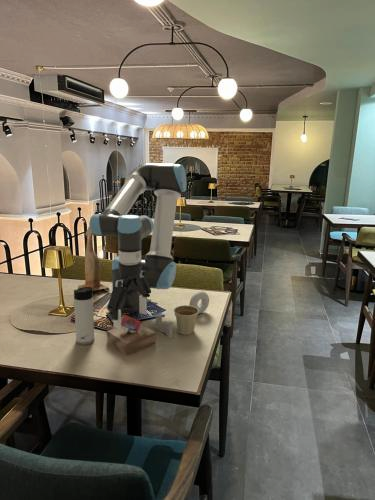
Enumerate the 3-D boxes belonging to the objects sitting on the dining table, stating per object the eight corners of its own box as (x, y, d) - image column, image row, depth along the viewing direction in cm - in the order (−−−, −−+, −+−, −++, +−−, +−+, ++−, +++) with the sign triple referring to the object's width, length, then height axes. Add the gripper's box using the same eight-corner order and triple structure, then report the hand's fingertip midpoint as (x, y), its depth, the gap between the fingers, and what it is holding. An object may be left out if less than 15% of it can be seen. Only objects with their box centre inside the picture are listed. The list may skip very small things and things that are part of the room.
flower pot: (180, 339, 134) (180, 317, 132) (169, 328, 142) (169, 307, 140) (202, 334, 139) (203, 312, 136) (190, 323, 147) (191, 303, 144)
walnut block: (107, 343, 130) (106, 330, 129) (134, 333, 139) (134, 321, 137) (127, 357, 122) (127, 343, 121) (155, 345, 130) (155, 332, 129)
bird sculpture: (97, 285, 186) (93, 223, 179) (110, 291, 178) (107, 226, 171) (77, 291, 179) (72, 225, 171) (90, 297, 171) (85, 229, 163)
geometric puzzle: (147, 322, 132) (134, 305, 130) (144, 331, 125) (129, 313, 124) (132, 332, 133) (118, 315, 132) (127, 341, 126) (113, 324, 125)
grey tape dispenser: (168, 337, 135) (154, 327, 143) (172, 336, 136) (157, 326, 144) (169, 323, 134) (154, 313, 142) (172, 322, 135) (157, 312, 142)
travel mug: (85, 347, 127) (83, 292, 122) (72, 341, 130) (69, 288, 125) (98, 340, 132) (97, 287, 127) (85, 335, 135) (83, 283, 130)
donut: (192, 317, 152) (193, 295, 150) (187, 315, 155) (188, 292, 152) (210, 312, 158) (211, 290, 156) (205, 309, 161) (206, 287, 158)
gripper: (112, 273, 111) (114, 337, 116) (161, 255, 131) (160, 310, 137) (94, 269, 114) (96, 331, 120) (144, 252, 135) (144, 305, 140)
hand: (130, 320), depth 128 cm, fingers open, 13 cm apart
